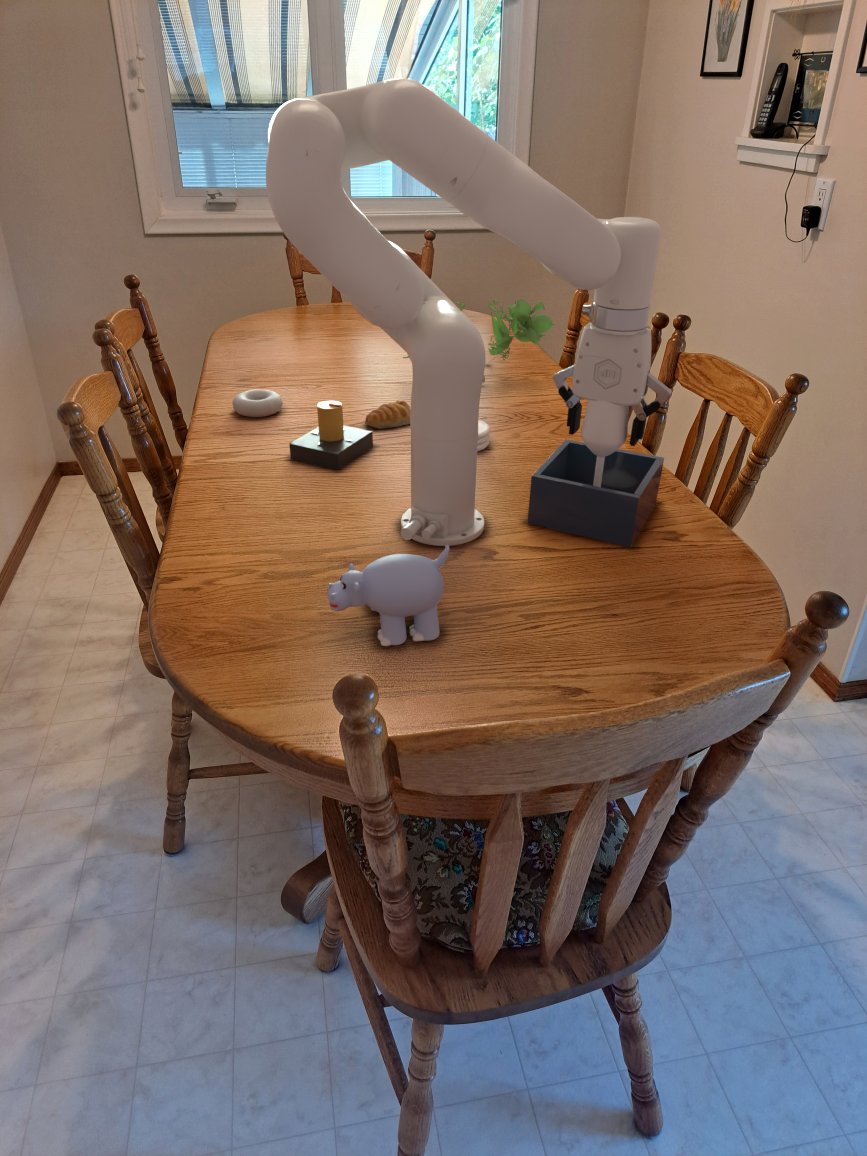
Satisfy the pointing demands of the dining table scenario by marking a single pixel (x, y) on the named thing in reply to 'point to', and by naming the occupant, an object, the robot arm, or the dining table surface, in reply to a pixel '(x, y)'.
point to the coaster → (483, 435)
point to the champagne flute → (604, 431)
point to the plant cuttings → (516, 326)
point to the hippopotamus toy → (395, 594)
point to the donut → (257, 403)
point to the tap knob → (330, 420)
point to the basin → (595, 493)
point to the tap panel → (331, 448)
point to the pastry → (389, 415)
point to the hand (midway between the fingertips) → (603, 436)
